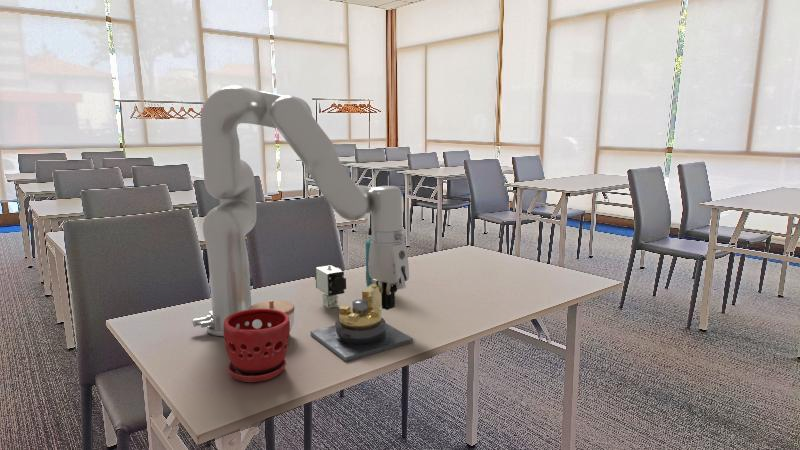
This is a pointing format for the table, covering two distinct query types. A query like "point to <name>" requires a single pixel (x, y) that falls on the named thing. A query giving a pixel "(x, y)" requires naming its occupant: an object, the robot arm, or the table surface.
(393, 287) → the robot arm
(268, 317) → the plant pot
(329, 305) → the pneumatic valve
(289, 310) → the lidded jar
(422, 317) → the table surface
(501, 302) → the table surface
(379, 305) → the gold slotted fixture
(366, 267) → the beverage bottle
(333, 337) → the housing
